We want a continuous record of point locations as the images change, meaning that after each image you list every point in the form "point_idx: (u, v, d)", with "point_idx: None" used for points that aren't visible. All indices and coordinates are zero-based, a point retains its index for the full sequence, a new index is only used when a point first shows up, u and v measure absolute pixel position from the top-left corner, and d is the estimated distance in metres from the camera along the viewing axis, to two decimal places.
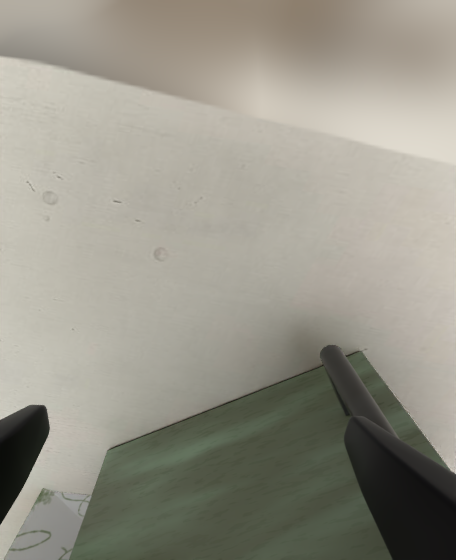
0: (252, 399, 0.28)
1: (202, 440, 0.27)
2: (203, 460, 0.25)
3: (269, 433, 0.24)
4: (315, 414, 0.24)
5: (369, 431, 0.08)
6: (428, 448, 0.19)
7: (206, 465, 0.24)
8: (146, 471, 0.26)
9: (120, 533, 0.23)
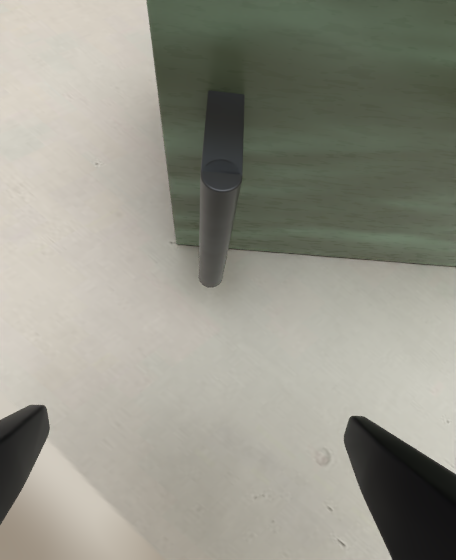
0: (302, 250, 0.26)
1: (373, 241, 0.24)
2: (385, 228, 0.23)
3: (307, 223, 0.22)
4: (254, 219, 0.22)
5: (369, 431, 0.08)
6: (170, 159, 0.17)
7: (385, 224, 0.22)
8: (446, 240, 0.24)
9: None
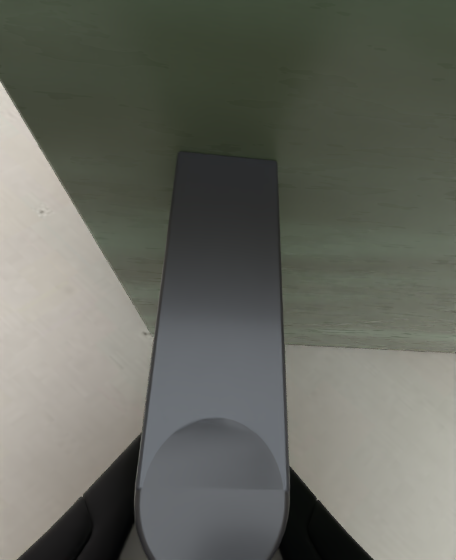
0: (338, 344, 0.18)
1: (452, 340, 0.16)
2: None
3: (357, 325, 0.14)
4: None
5: None
6: (116, 262, 0.09)
7: None
8: None
9: None
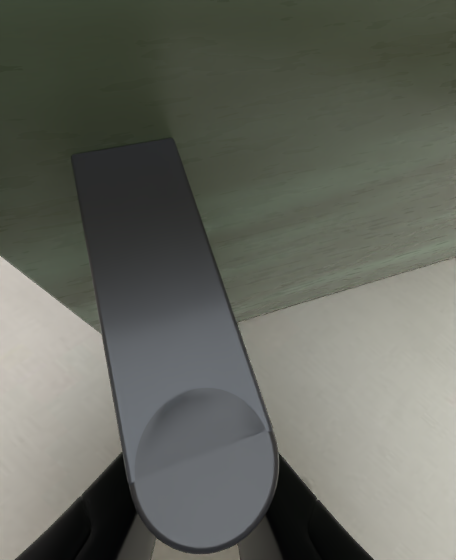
0: (303, 299, 0.19)
1: (397, 261, 0.17)
2: (417, 245, 0.16)
3: (312, 276, 0.15)
4: (234, 299, 0.14)
5: None
6: (57, 290, 0.08)
7: (419, 241, 0.15)
8: None
9: None
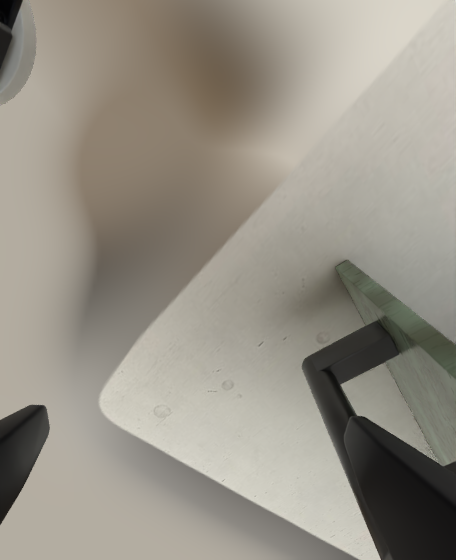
0: (394, 376, 0.24)
1: (434, 440, 0.24)
2: (451, 462, 0.22)
3: (423, 409, 0.20)
4: (401, 367, 0.19)
5: (369, 431, 0.08)
6: (426, 354, 0.12)
7: None
8: None
9: None
